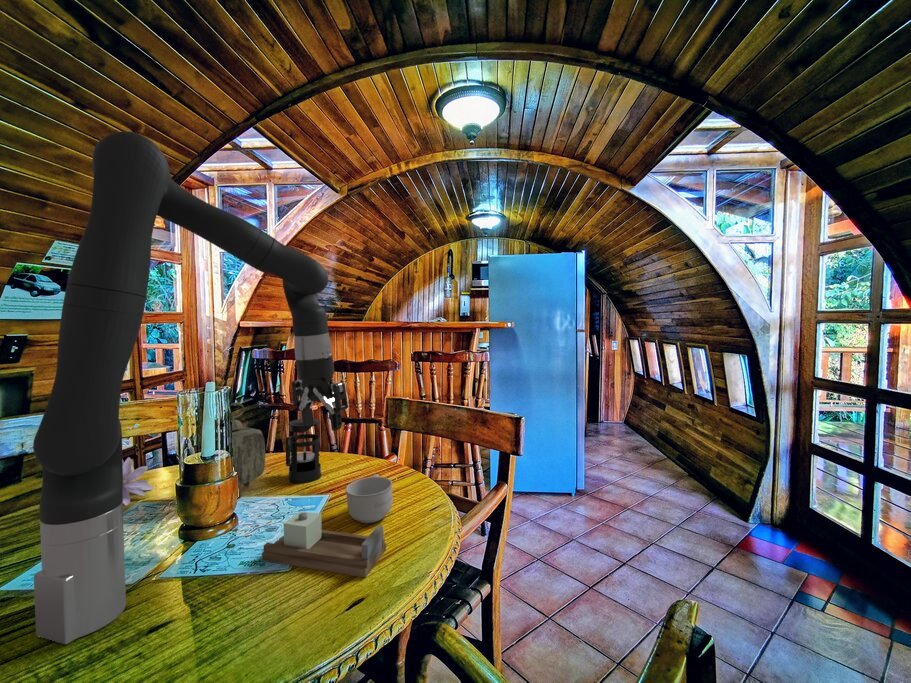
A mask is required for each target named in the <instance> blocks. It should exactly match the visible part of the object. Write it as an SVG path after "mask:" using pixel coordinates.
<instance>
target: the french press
mask: <svg viewBox="0 0 911 683" xmlns="http://www.w3.org/2000/svg"><path fill="white" fill-rule="evenodd" d="M313 421H314V423H313V424H312V425H310V426H304V423H303V419H302V418H299V419H294V420H291V421H289V422H288V423H287V425H288V426H289V431H290V432H292V433H297V434H298V435H297V434H296V435H293V436H292V435H290V436H286V437H285V466H286V467H288V477H287V481H288V482H289V483H292V484H298V485H299V484H308V483H312V482H315V481H317V480H319V479H320V478H321V477H322V472H321V471H322V470H321V468H322V467H321V466H322V465H321V463H320V455H321V454H320V447H319V446H320V443H321V435H319V434H316V433H306V432H308V431H309V430H311V428H312V427H317V428H319V426H320V423H321V420H320V418H319V419H318V418H313ZM299 433H301V434H299ZM302 433H303V434H302ZM306 439H311V440H310V441H306ZM298 440H303V441H300V442H299V441H298ZM297 441H298V442H297ZM306 447H311V451H306ZM298 448H303V452H298Z"/></svg>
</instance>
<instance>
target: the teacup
mask: <svg viewBox="0 0 911 683" xmlns="http://www.w3.org/2000/svg"><path fill="white" fill-rule="evenodd" d="M345 493H346V503H347V510H348V513H349V516H350V517H351V518H352V519H353V520H355V521H357V522H359V523H362V524H373V523H377V522H379V521H381V520H382V519H384V518H385V517H386V515H388V514H389V512H390V511H391V509H392V506H393V482H392V480H391V479H390V478H387V477H386V476H385V477H384V476H380V475H379V474H373V475H372V476H368V477H362V478H360V479H359V478H358V479H356V480H354V481H352V482H350V483H349V484H348V485H347V486H346V487H345Z"/></svg>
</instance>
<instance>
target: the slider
mask: <svg viewBox="0 0 911 683" xmlns="http://www.w3.org/2000/svg"><path fill="white" fill-rule="evenodd" d="M321 530H322V514H321V513H315V512H310V511H309V512H307V511H302V510H300V511H299V512H297V513H296V514H294V515H293V516H292V517H291V518H289V519H287V520H286V521H285V522H284V523H283V536H284V545H286V546H293V547H299V548H305V549H310V548H311V547H312V546H313V545H314V544H315V543H316V542H317V541H319V540H320V539H321V538H322V535H321Z"/></svg>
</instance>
